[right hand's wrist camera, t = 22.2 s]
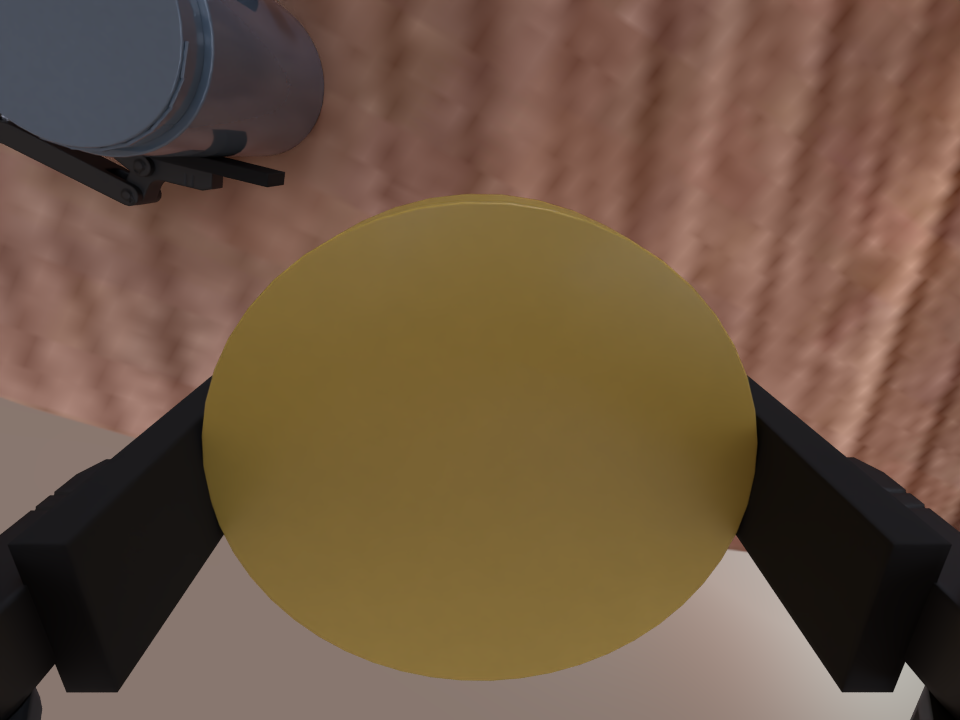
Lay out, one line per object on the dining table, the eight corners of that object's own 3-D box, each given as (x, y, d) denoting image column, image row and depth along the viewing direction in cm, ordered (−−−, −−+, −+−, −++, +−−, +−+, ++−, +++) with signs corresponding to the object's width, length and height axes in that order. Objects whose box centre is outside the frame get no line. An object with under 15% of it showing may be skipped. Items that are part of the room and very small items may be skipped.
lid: (775, 217, 10) (835, 230, 9) (662, 626, 14) (688, 694, 12) (220, 170, 10) (164, 173, 8) (259, 601, 14) (227, 667, 12)
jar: (168, 127, 36) (-85, 105, 20) (187, -33, 33) (-97, -214, 17) (307, 176, 37) (174, 192, 21) (339, 25, 34) (211, -92, 18)
